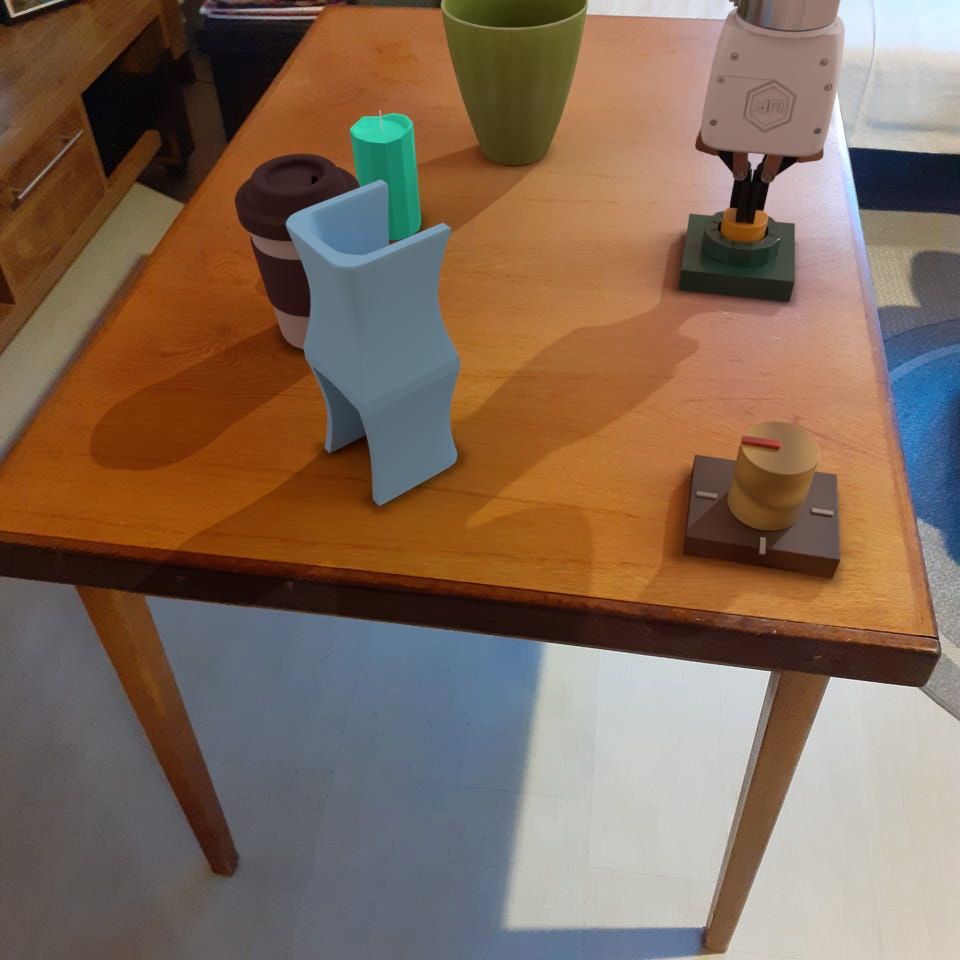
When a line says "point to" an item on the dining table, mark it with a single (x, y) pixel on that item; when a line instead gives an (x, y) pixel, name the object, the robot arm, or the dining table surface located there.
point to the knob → (772, 475)
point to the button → (743, 226)
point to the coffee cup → (265, 214)
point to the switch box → (738, 261)
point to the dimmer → (731, 540)
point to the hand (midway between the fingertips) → (744, 214)
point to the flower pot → (514, 70)
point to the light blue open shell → (379, 336)
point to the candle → (390, 167)
